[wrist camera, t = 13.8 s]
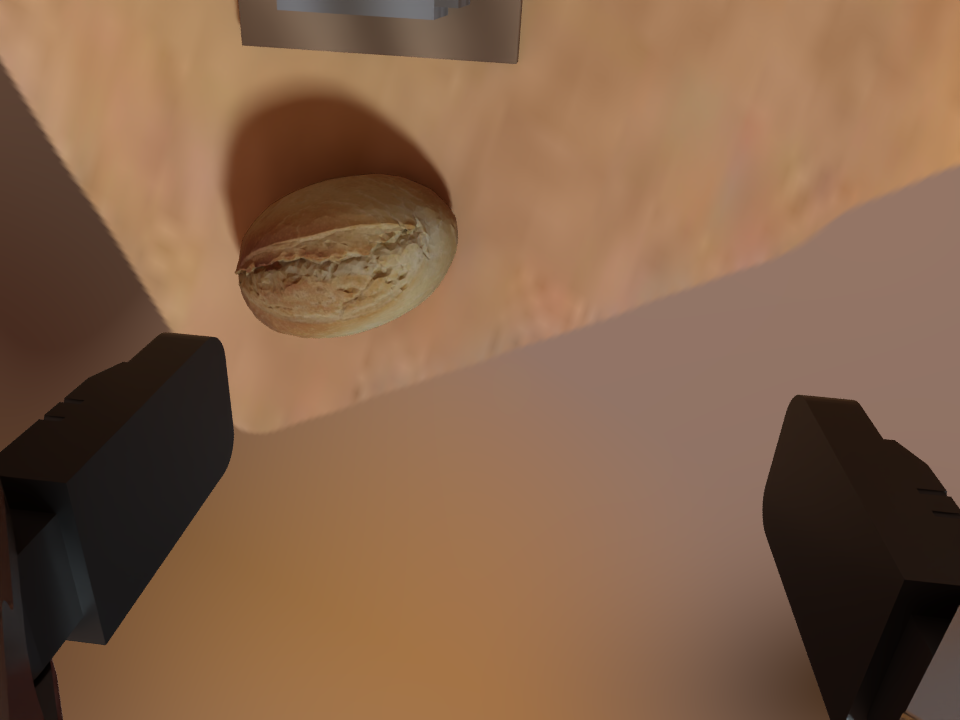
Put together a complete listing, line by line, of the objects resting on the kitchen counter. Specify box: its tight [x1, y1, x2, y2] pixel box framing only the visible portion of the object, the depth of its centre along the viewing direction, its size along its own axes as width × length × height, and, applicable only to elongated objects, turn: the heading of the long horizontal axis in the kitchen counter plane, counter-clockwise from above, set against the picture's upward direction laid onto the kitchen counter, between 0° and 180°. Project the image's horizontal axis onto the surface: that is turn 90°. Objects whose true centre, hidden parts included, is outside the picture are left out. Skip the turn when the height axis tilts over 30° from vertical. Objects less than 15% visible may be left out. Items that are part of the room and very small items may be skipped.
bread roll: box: [235, 174, 458, 338], centre depth 47 cm, size 10×15×8 cm, turn 112°
